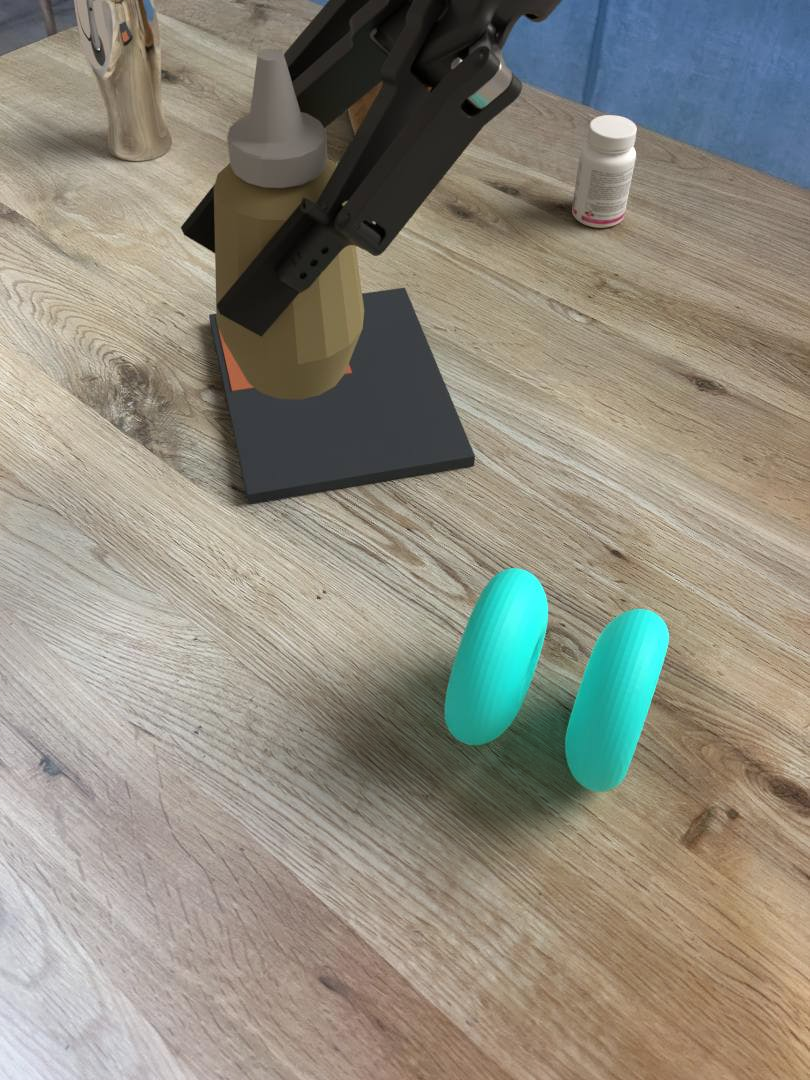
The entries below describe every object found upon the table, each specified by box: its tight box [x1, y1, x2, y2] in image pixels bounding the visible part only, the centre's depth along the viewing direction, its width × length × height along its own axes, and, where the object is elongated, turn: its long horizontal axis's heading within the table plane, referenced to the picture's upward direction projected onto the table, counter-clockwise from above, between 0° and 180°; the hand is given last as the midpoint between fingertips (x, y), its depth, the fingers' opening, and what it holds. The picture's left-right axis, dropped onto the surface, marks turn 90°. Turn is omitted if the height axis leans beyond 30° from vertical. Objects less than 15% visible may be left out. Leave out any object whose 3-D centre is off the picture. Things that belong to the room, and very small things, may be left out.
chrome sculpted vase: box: [73, 0, 173, 162], centre depth 96 cm, size 7×7×15 cm
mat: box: [208, 287, 476, 505], centre depth 79 cm, size 20×16×1 cm
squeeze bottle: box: [213, 48, 364, 400], centre depth 53 cm, size 8×8×18 cm
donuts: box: [444, 567, 670, 793], centre depth 57 cm, size 10×10×10 cm
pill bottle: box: [571, 114, 637, 229], centre depth 92 cm, size 5×5×8 cm
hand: (220, 280), depth 54 cm, fingers closed on squeeze bottle, 6 cm apart
